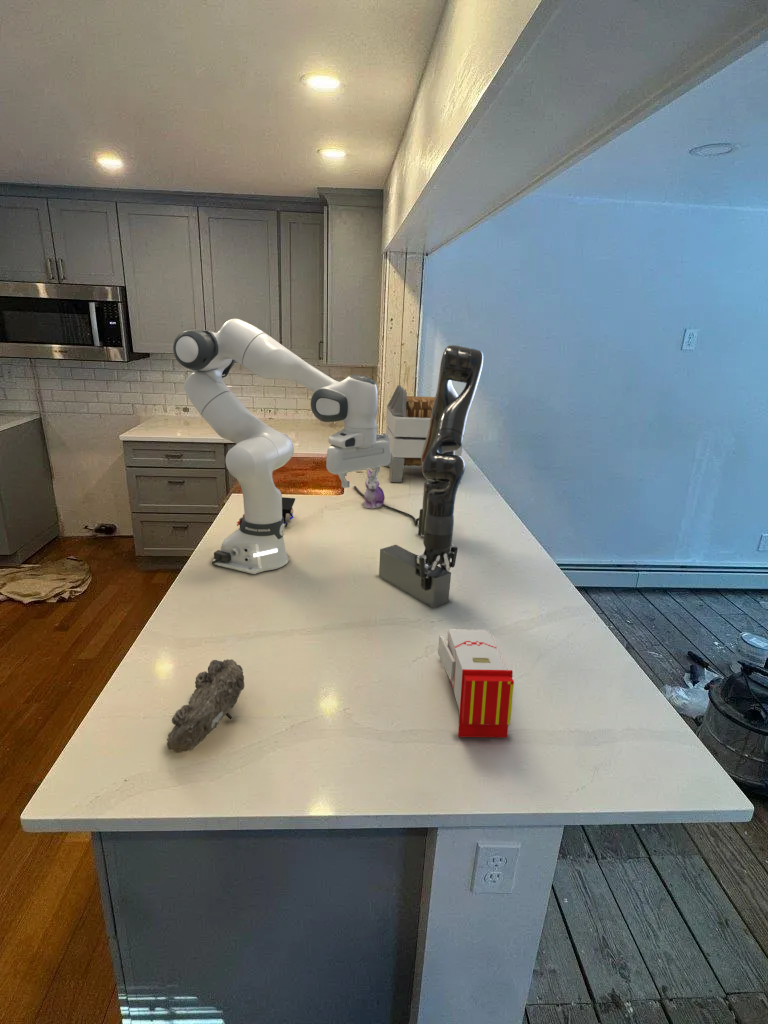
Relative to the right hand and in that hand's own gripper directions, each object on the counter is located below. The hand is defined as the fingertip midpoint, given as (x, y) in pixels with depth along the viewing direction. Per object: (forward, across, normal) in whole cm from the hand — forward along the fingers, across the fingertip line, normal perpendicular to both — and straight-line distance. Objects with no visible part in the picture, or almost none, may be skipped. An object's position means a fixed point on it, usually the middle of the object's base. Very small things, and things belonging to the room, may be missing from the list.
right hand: (434, 585), depth 154 cm
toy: (+5, +21, +33) cm, 40 cm away
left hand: (-23, +7, -26) cm, 35 cm away
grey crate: (+4, -84, -96) cm, 127 cm away
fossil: (+5, +67, +9) cm, 68 cm away
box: (+5, 0, -8) cm, 10 cm away
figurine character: (+4, +4, -73) cm, 74 cm away
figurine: (+4, -35, -70) cm, 79 cm away
